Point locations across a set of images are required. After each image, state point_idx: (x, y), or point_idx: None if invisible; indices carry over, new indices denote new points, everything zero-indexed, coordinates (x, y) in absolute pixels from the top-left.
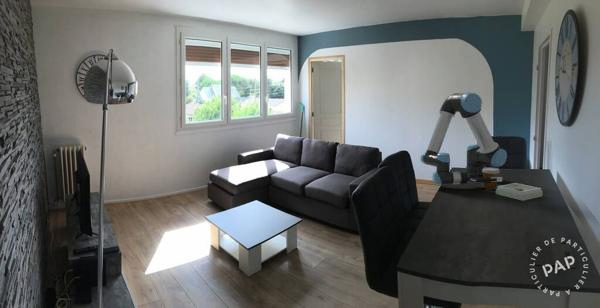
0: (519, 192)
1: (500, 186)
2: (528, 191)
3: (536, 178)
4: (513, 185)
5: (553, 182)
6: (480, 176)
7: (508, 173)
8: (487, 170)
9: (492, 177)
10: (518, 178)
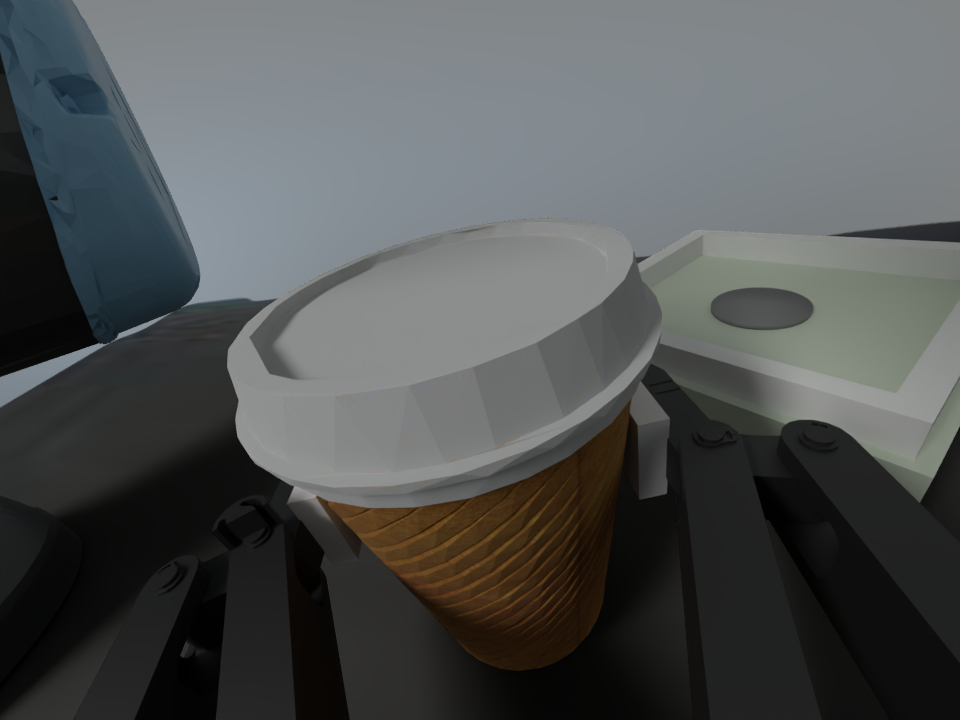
0: None
1: (899, 391)
2: (892, 244)
3: None
4: None
5: None
6: (319, 653)
7: (97, 398)
8: (616, 308)
9: (649, 395)
10: None
